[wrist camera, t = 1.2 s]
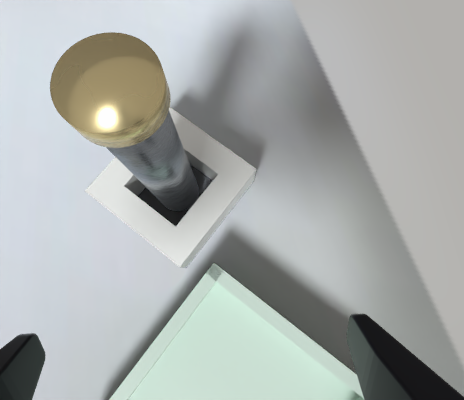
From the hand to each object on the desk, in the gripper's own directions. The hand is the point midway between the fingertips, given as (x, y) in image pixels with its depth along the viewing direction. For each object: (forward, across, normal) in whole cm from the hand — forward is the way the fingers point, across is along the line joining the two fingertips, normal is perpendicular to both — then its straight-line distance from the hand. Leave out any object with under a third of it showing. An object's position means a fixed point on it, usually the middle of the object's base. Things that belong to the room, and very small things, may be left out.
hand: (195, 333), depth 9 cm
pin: (+15, +2, +2) cm, 16 cm away
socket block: (+15, +2, +2) cm, 16 cm away
